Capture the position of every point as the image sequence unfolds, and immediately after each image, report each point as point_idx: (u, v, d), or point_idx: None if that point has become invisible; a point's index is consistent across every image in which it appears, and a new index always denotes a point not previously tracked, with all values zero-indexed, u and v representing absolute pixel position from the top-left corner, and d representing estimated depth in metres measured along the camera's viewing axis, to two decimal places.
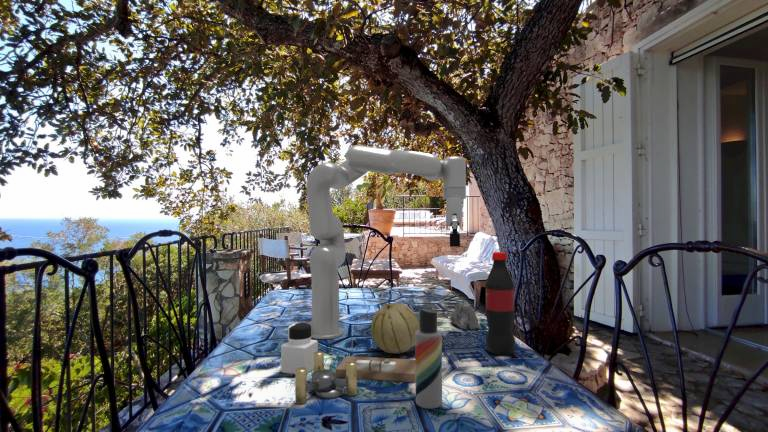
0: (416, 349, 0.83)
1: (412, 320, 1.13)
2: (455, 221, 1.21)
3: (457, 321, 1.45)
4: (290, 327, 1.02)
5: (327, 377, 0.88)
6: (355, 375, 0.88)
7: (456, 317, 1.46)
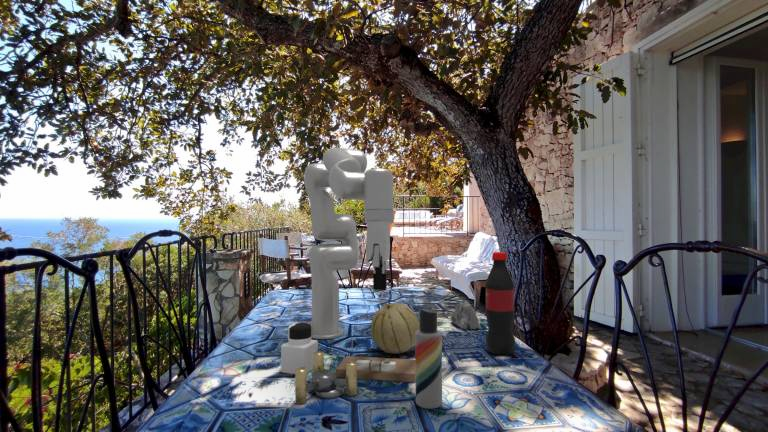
0: (416, 349, 0.83)
1: (412, 320, 1.13)
2: (377, 266, 0.95)
3: (457, 321, 1.45)
4: (290, 327, 1.02)
5: (327, 377, 0.88)
6: (355, 375, 0.88)
7: (457, 317, 1.46)
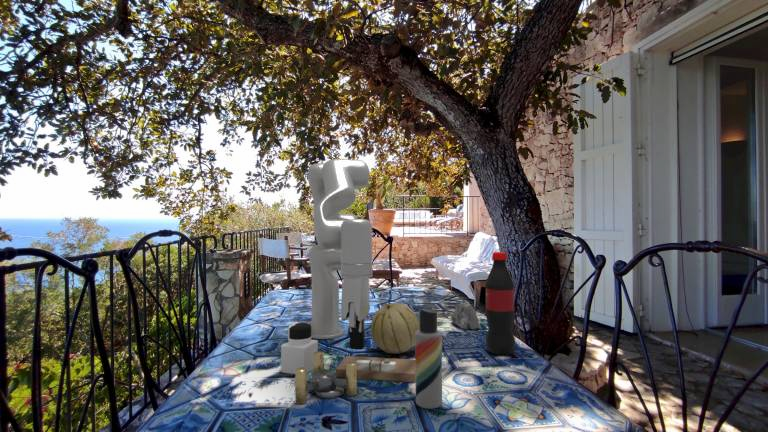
0: (416, 349, 0.83)
1: (412, 320, 1.13)
2: (352, 327, 0.88)
3: (458, 321, 1.45)
4: (290, 327, 1.02)
5: (327, 377, 0.88)
6: (355, 375, 0.88)
7: (457, 317, 1.46)
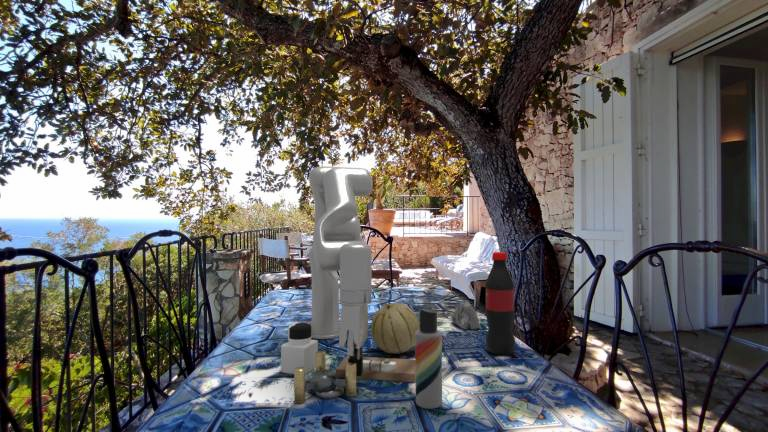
0: (416, 349, 0.83)
1: (412, 320, 1.13)
2: (350, 355, 0.87)
3: (458, 321, 1.45)
4: (290, 327, 1.02)
5: (326, 377, 0.88)
6: (354, 376, 0.87)
7: (457, 317, 1.46)
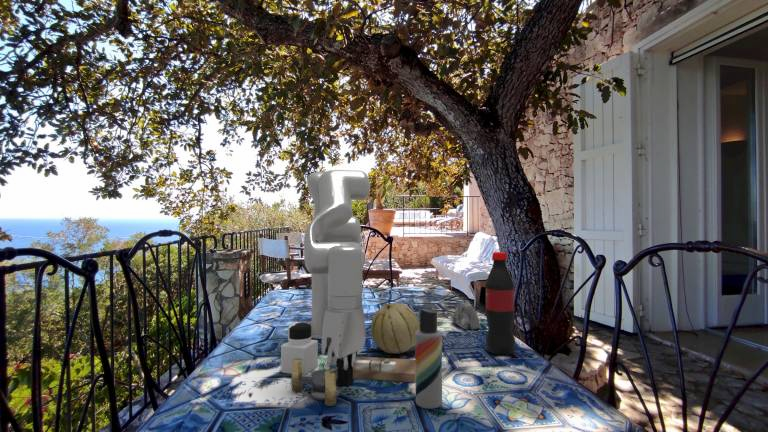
0: (416, 349, 0.83)
1: (412, 320, 1.13)
2: (329, 364, 0.82)
3: (458, 321, 1.45)
4: (290, 327, 1.02)
5: (317, 377, 0.88)
6: (329, 385, 0.82)
7: (457, 317, 1.46)
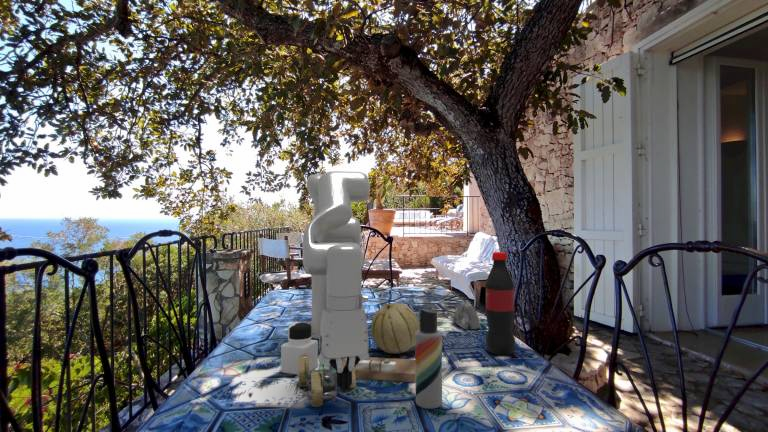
0: (416, 349, 0.83)
1: (412, 320, 1.13)
2: (320, 362, 0.82)
3: (459, 321, 1.45)
4: (290, 327, 1.02)
5: None
6: (313, 386, 0.82)
7: (458, 317, 1.46)
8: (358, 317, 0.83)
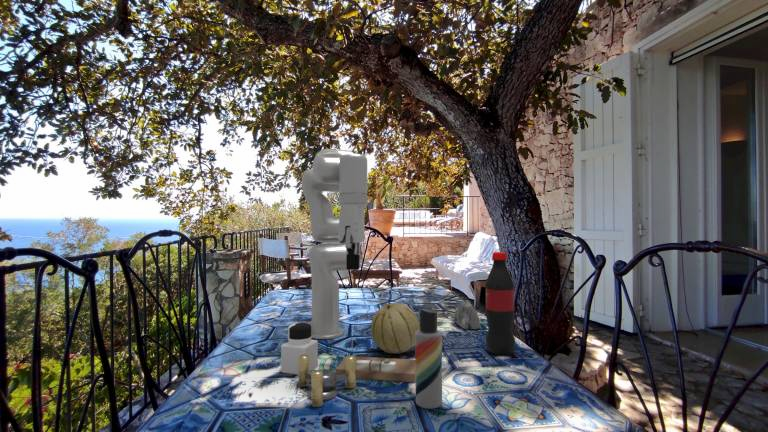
0: (416, 349, 0.83)
1: (412, 320, 1.13)
2: (348, 247, 0.99)
3: (459, 321, 1.45)
4: (290, 327, 1.02)
5: None
6: (313, 386, 0.82)
7: (458, 317, 1.46)
8: (363, 211, 1.07)
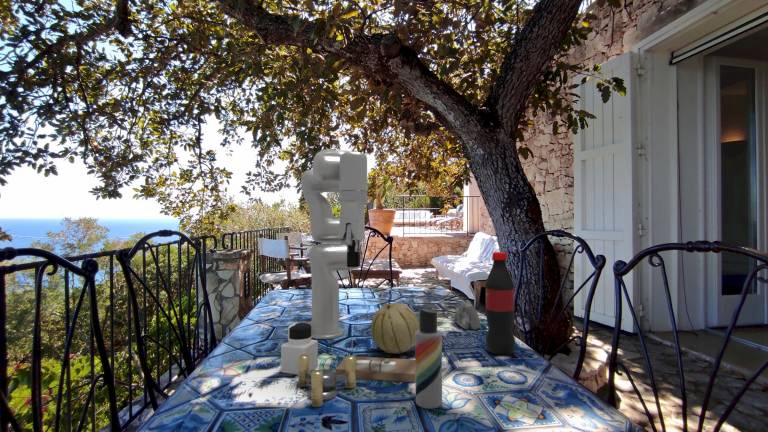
0: (416, 349, 0.83)
1: (412, 320, 1.13)
2: (349, 244, 1.00)
3: (459, 321, 1.45)
4: (290, 327, 1.02)
5: None
6: (313, 386, 0.82)
7: (458, 317, 1.46)
8: None
